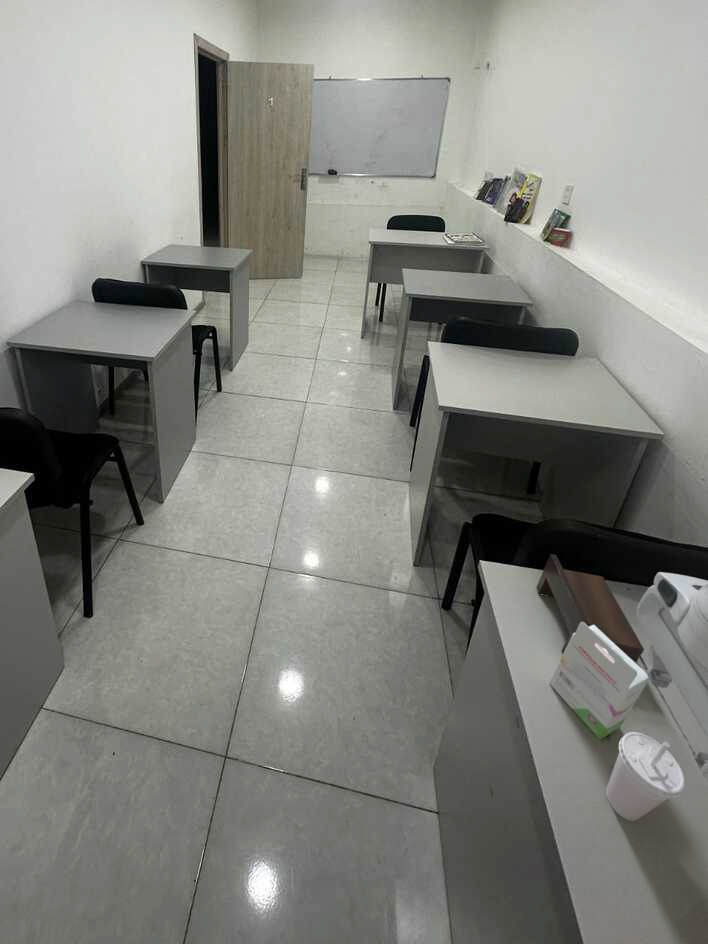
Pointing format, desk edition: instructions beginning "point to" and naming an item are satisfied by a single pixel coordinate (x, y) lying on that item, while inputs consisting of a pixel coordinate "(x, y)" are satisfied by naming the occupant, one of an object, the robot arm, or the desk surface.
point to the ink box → (598, 680)
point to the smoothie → (642, 776)
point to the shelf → (588, 605)
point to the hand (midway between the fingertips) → (678, 722)
